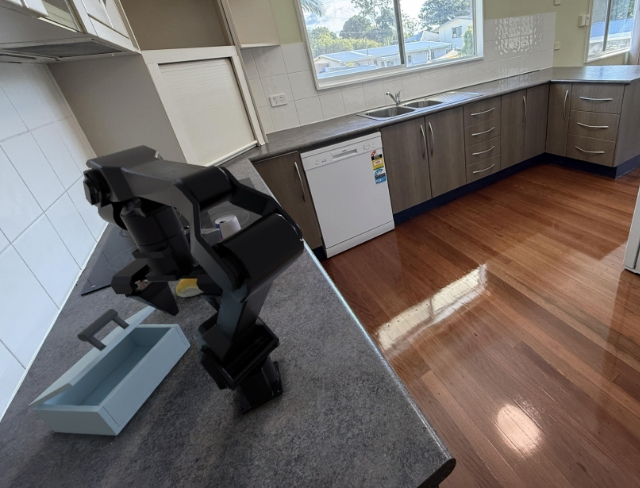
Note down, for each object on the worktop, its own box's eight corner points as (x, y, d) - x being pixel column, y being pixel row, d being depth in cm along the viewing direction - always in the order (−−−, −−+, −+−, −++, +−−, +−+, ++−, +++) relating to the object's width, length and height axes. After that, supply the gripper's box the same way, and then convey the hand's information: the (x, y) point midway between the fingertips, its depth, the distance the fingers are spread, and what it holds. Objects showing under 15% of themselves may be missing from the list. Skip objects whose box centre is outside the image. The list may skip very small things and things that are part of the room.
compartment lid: (163, 301, 57) (142, 282, 55) (73, 386, 43) (41, 364, 41) (126, 324, 61) (105, 307, 59) (32, 408, 47) (2, 390, 45)
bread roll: (220, 270, 83) (215, 258, 82) (209, 293, 75) (203, 280, 74) (187, 278, 82) (181, 266, 80) (172, 302, 74) (165, 288, 72)
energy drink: (225, 260, 87) (209, 223, 83) (239, 249, 92) (225, 213, 87) (240, 262, 86) (225, 224, 81) (254, 250, 90) (240, 214, 86)
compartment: (190, 345, 61) (178, 323, 59) (117, 435, 47) (96, 412, 45) (140, 345, 63) (126, 324, 61) (54, 432, 49) (31, 409, 47)
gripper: (249, 204, 51) (276, 279, 57) (149, 210, 54) (186, 281, 60) (203, 245, 41) (242, 330, 47) (83, 249, 44) (135, 329, 50)
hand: (200, 314), depth 51 cm, fingers open, 9 cm apart
